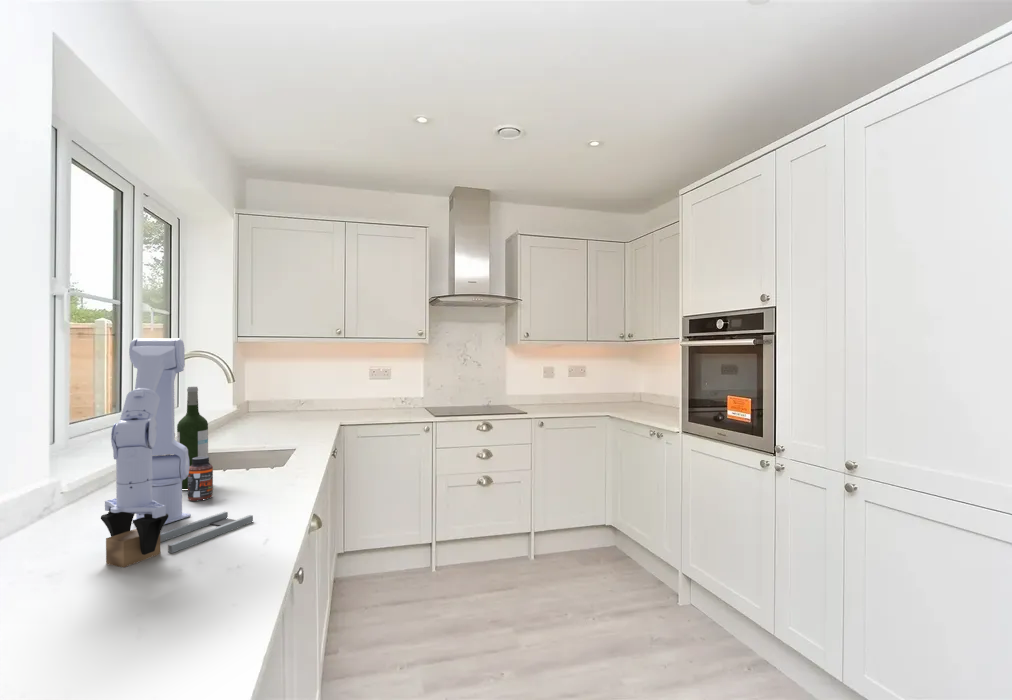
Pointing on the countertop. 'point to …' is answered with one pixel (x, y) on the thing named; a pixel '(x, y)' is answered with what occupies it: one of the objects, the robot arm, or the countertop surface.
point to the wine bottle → (193, 430)
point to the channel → (212, 520)
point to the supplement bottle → (200, 479)
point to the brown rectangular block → (127, 549)
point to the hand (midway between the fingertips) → (134, 550)
